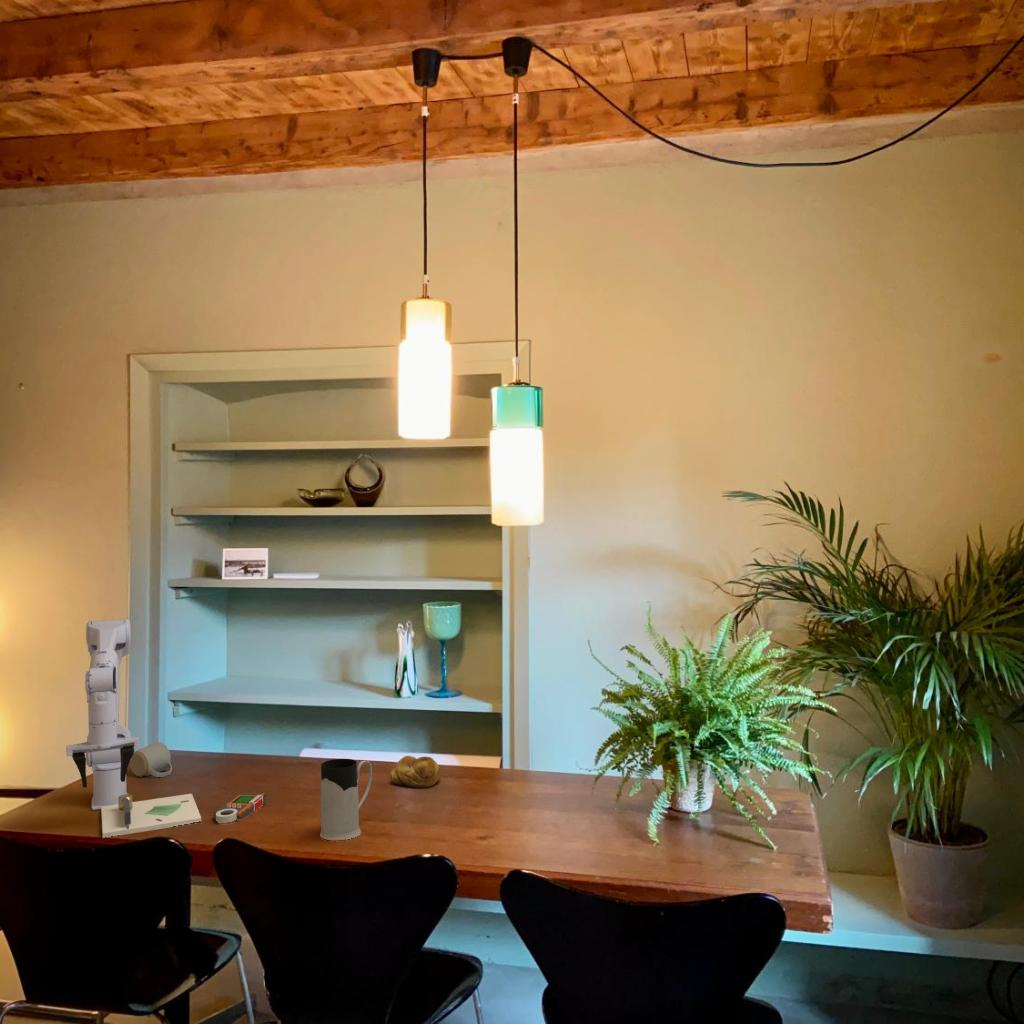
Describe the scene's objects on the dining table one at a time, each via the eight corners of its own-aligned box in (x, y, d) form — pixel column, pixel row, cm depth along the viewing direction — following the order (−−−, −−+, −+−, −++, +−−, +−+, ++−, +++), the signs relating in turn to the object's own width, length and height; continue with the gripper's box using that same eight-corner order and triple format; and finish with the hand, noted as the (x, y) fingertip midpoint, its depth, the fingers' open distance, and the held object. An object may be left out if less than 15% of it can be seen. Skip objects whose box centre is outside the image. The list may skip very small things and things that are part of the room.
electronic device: (208, 814, 198) (241, 790, 213) (209, 827, 198) (241, 802, 213) (236, 816, 197) (267, 791, 212) (237, 829, 197) (267, 803, 212)
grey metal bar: (118, 807, 206) (118, 795, 206) (132, 805, 207) (132, 793, 207) (120, 826, 193) (120, 813, 194) (135, 823, 195) (135, 810, 195)
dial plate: (101, 811, 209) (101, 805, 209) (191, 797, 217) (191, 792, 217) (102, 838, 191) (102, 832, 191) (201, 822, 199) (201, 817, 199)
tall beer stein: (310, 836, 189) (309, 765, 189) (357, 817, 201) (356, 750, 201) (340, 844, 184) (338, 771, 184) (387, 823, 196) (385, 755, 196)
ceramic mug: (127, 776, 237) (126, 747, 237) (151, 768, 244) (151, 740, 244) (155, 781, 232) (155, 752, 232) (180, 773, 239) (180, 744, 239)
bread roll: (383, 787, 223) (382, 755, 223) (402, 776, 232) (401, 745, 232) (430, 791, 218) (429, 759, 218) (447, 780, 227) (446, 749, 227)
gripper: (67, 729, 191) (68, 793, 190) (140, 720, 198) (141, 782, 198) (65, 723, 197) (66, 785, 196) (136, 715, 204) (137, 775, 204)
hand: (103, 783), depth 197 cm, fingers open, 7 cm apart
